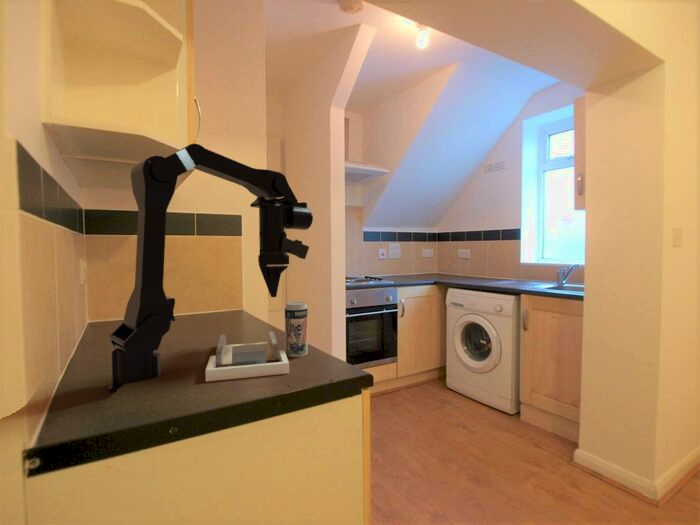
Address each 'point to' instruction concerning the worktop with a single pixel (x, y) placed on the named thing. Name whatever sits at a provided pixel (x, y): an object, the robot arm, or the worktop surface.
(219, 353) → the slot plate
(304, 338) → the beer can
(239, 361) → the grey block
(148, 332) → the robot arm
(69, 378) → the worktop surface
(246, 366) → the tray
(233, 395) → the worktop surface
